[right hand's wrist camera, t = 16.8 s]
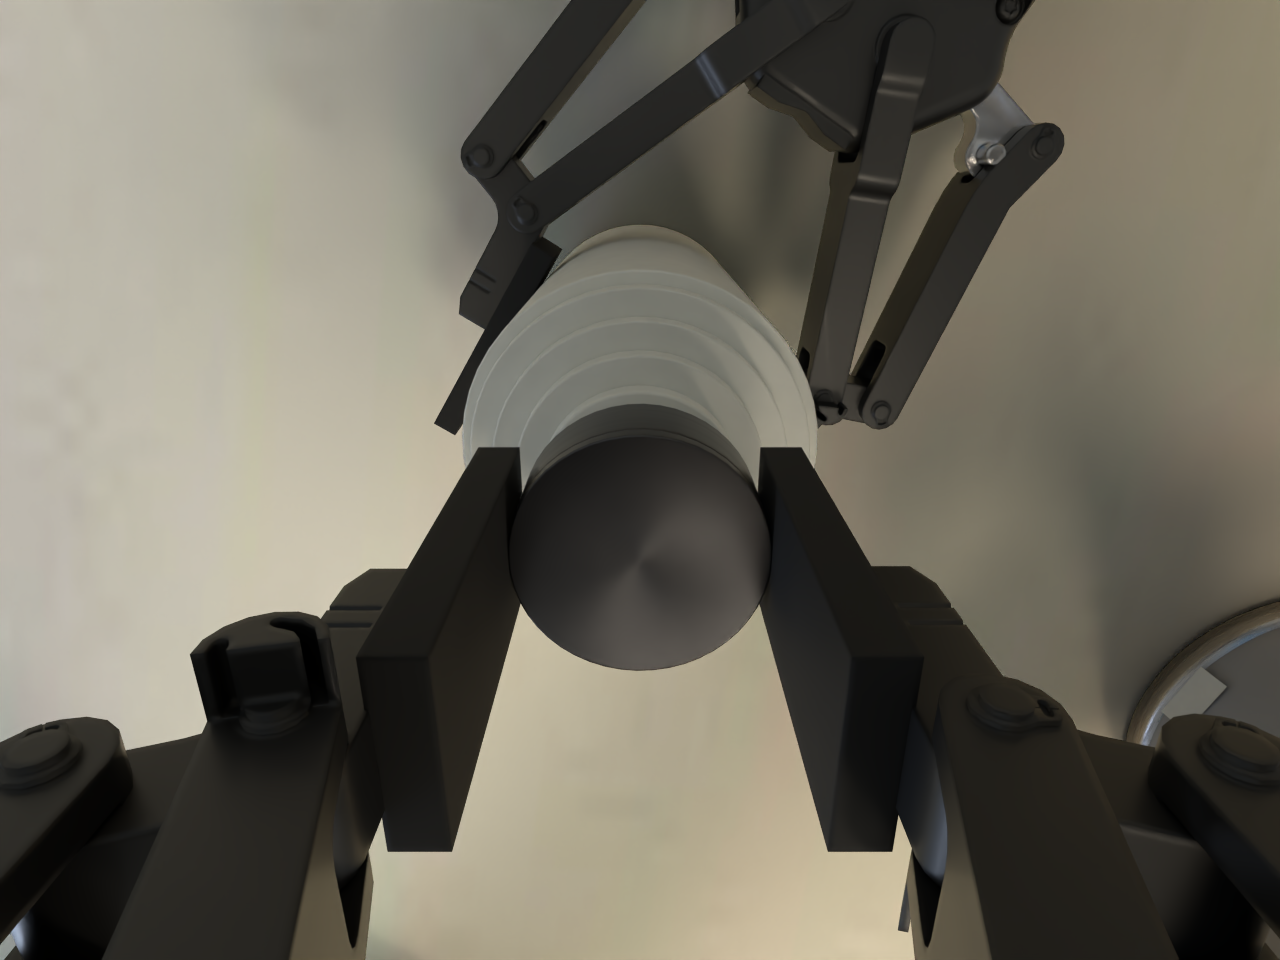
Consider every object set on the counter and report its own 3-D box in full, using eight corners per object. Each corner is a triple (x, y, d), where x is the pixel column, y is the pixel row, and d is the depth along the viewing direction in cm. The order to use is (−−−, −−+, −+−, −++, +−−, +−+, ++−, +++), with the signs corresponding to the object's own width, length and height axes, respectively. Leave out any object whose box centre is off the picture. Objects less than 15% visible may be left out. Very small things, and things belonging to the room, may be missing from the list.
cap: (751, 390, 13) (767, 422, 12) (762, 606, 15) (778, 660, 13) (504, 415, 14) (486, 449, 12) (541, 625, 15) (529, 681, 14)
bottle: (677, 456, 33) (723, 796, 15) (507, 369, 32) (332, 628, 14) (778, 288, 31) (978, 456, 13) (596, 184, 29) (526, 205, 11)
